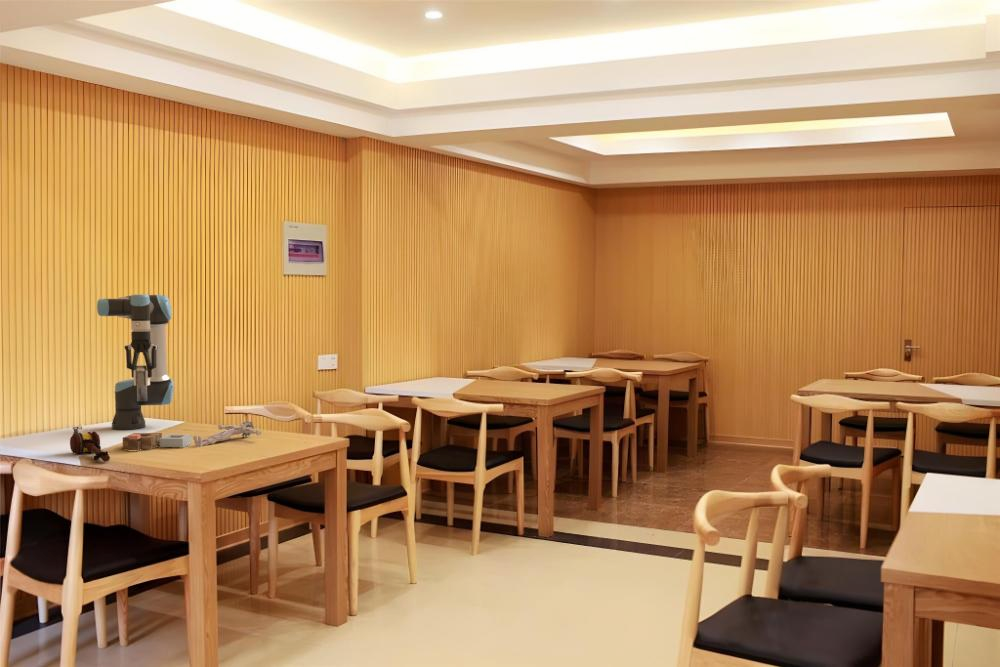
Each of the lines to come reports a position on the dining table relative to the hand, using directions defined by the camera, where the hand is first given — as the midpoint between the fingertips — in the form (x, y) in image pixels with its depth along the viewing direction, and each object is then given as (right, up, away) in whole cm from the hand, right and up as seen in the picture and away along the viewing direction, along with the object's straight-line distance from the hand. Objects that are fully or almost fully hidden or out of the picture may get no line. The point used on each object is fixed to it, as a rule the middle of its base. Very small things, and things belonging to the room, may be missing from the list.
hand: (141, 385), depth 381 cm
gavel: (-12, -28, -20) cm, 36 cm away
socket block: (0, -27, -1) cm, 27 cm away
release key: (0, -26, -7) cm, 27 cm away
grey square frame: (+13, -26, +4) cm, 30 cm away
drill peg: (0, -7, 0) cm, 7 cm away
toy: (+31, -26, +16) cm, 43 cm away
